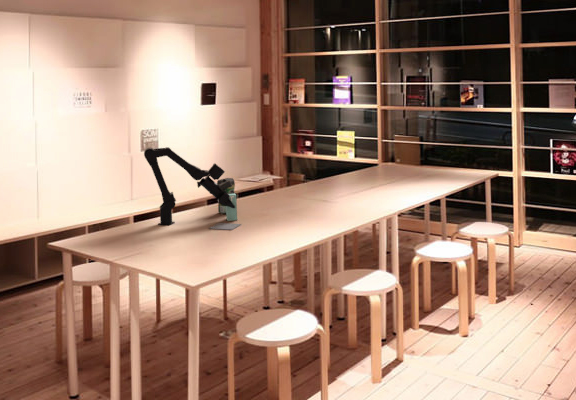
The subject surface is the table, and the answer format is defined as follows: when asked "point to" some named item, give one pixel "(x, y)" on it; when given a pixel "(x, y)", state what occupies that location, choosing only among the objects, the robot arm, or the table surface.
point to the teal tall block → (232, 209)
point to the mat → (225, 226)
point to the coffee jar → (229, 190)
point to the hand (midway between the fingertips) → (234, 206)
